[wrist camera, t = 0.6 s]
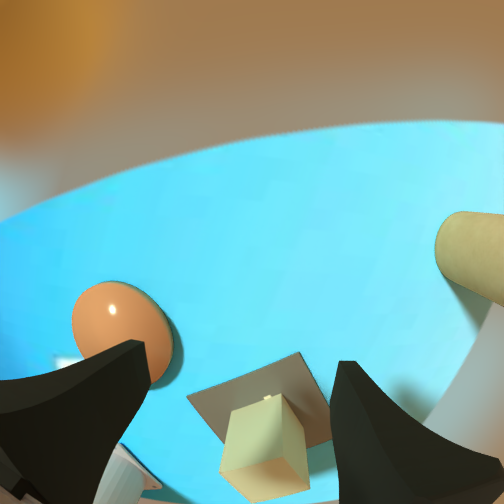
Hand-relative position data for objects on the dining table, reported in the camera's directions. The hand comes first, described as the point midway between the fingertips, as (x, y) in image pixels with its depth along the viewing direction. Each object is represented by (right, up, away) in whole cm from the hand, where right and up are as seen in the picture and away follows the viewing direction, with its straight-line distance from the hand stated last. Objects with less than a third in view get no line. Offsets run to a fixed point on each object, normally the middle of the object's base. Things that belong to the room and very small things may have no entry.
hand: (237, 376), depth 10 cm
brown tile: (+2, -9, +12) cm, 16 cm away
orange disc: (-10, -2, +12) cm, 15 cm away
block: (+2, -9, +12) cm, 15 cm away
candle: (+17, +5, +9) cm, 20 cm away
